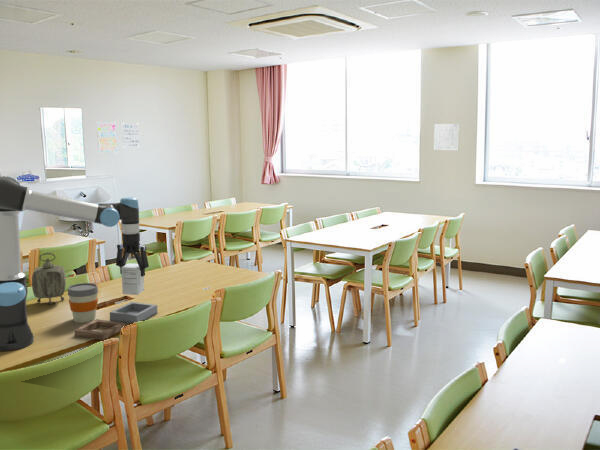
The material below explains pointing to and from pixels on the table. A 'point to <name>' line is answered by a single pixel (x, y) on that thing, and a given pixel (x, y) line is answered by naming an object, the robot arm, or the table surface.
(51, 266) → the tabletop clock
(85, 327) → the walnut collar
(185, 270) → the table surface
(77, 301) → the reusable coffee cup
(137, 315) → the grey tray
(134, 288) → the supplement box
